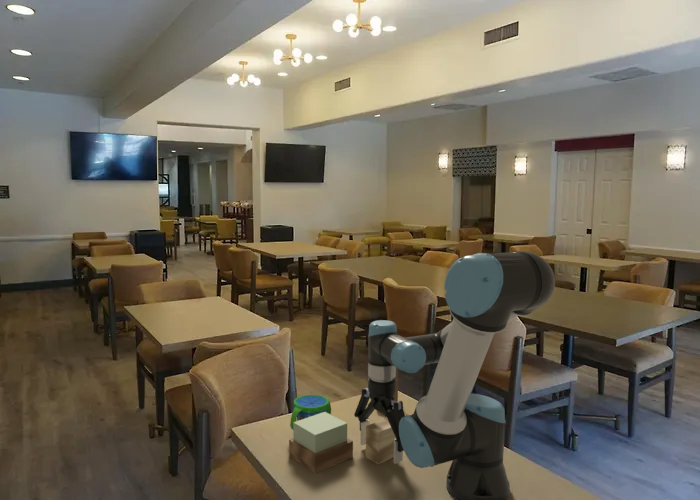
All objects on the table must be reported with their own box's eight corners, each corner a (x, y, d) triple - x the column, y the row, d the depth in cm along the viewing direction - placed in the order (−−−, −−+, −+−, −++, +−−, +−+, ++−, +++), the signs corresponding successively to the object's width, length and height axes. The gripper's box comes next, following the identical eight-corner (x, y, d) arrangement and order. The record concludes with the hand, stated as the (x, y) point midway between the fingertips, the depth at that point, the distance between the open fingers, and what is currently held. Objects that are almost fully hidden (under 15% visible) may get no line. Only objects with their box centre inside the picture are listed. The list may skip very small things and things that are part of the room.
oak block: (396, 456, 145) (396, 425, 144) (378, 464, 141) (378, 432, 140) (383, 449, 149) (384, 419, 148) (365, 457, 145) (365, 426, 144)
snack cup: (319, 419, 168) (319, 389, 167) (342, 430, 161) (342, 398, 160) (280, 435, 157) (279, 402, 156) (302, 447, 150) (301, 413, 149)
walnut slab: (352, 458, 145) (352, 441, 144) (315, 474, 136) (315, 456, 136) (326, 442, 154) (326, 426, 153) (289, 456, 146) (289, 439, 145)
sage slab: (347, 440, 145) (347, 423, 144) (315, 453, 137) (315, 435, 137) (324, 428, 152) (324, 411, 152) (293, 439, 145) (293, 422, 144)
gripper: (425, 387, 136) (423, 465, 138) (362, 363, 154) (361, 432, 157) (405, 394, 131) (403, 475, 133) (342, 368, 149) (342, 440, 152)
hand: (380, 452), depth 145 cm, fingers open, 12 cm apart
